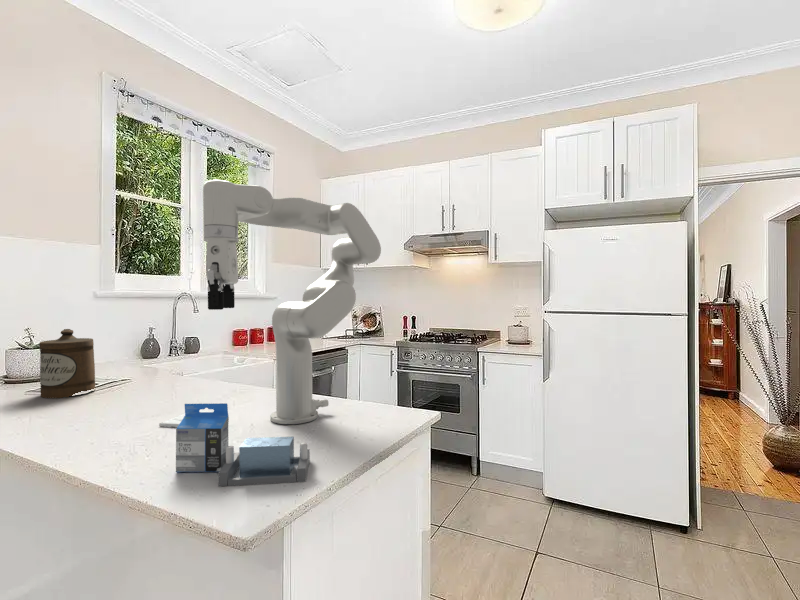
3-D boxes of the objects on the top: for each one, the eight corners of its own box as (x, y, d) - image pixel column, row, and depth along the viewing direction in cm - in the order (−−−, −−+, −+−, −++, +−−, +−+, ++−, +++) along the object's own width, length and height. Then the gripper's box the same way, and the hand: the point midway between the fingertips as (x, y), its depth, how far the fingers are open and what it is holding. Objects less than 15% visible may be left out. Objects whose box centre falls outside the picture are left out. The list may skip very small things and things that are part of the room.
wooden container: (28, 397, 142) (27, 330, 142) (69, 388, 157) (68, 327, 157) (67, 399, 140) (66, 331, 140) (105, 389, 155) (104, 327, 154)
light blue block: (245, 468, 84) (245, 438, 84) (293, 467, 85) (293, 436, 85) (238, 479, 79) (238, 447, 79) (289, 477, 80) (289, 445, 80)
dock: (232, 465, 86) (232, 438, 86) (309, 461, 88) (309, 435, 88) (218, 486, 76) (218, 457, 76) (305, 481, 78) (305, 452, 78)
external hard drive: (217, 417, 122) (187, 430, 109) (191, 415, 123) (159, 428, 111) (217, 411, 122) (187, 424, 109) (191, 409, 123) (158, 422, 111)
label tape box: (174, 473, 82) (173, 408, 82) (185, 464, 86) (184, 402, 86) (221, 473, 82) (220, 408, 82) (229, 464, 86) (229, 402, 86)
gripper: (228, 230, 93) (228, 310, 94) (246, 240, 111) (246, 307, 111) (191, 229, 92) (192, 310, 93) (215, 239, 110) (215, 307, 110)
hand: (221, 308), depth 102 cm, fingers open, 9 cm apart
